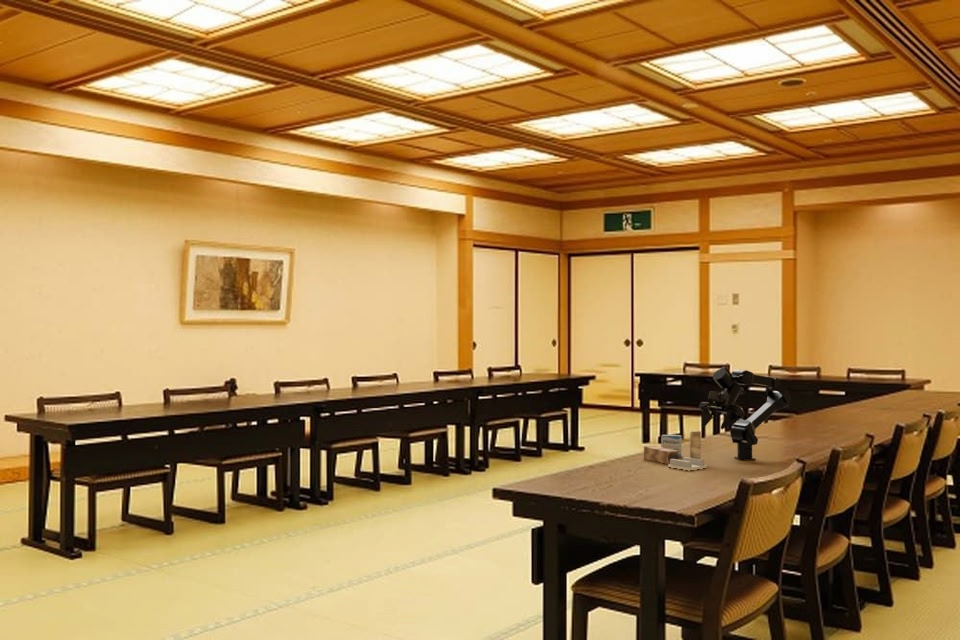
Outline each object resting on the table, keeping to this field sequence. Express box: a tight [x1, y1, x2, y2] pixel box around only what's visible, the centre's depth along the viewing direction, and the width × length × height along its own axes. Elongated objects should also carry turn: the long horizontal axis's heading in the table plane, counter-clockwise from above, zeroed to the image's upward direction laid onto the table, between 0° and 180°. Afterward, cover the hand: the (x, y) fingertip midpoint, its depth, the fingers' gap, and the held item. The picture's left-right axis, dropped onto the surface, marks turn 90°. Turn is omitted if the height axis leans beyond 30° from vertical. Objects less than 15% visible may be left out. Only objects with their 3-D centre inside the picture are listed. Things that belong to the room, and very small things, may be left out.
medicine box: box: [660, 434, 683, 458], centre depth 365 cm, size 8×4×9 cm, turn 73°
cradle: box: [667, 456, 707, 472], centre depth 336 cm, size 10×10×3 cm
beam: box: [643, 445, 680, 465], centre depth 352 cm, size 16×5×5 cm, turn 24°
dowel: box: [689, 430, 702, 459], centre depth 346 cm, size 4×4×12 cm
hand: (711, 427), depth 347 cm, fingers open, 9 cm apart
